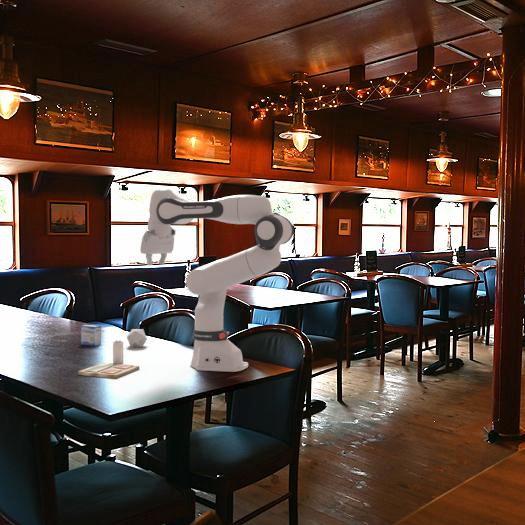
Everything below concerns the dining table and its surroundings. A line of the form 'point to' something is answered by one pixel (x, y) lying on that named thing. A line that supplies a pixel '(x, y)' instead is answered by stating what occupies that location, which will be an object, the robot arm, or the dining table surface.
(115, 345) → the salt shaker
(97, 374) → the board
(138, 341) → the die
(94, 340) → the medicine box
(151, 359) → the dining table surface
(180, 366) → the dining table surface
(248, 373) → the dining table surface
